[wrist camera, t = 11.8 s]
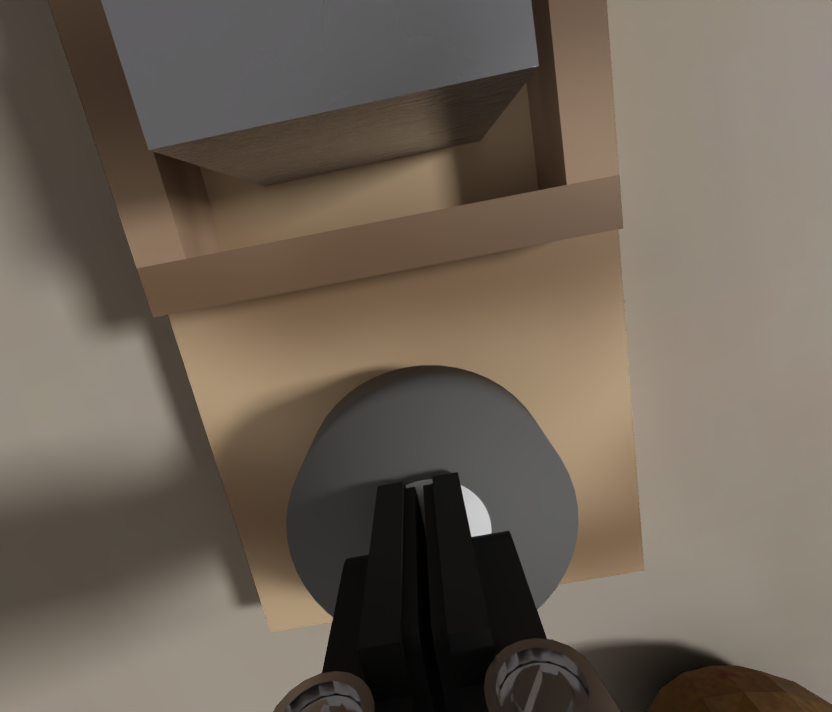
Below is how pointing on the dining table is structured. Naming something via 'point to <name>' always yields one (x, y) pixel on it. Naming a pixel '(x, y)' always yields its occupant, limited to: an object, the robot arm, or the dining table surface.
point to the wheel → (431, 473)
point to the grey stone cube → (318, 78)
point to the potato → (735, 693)
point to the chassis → (392, 285)
